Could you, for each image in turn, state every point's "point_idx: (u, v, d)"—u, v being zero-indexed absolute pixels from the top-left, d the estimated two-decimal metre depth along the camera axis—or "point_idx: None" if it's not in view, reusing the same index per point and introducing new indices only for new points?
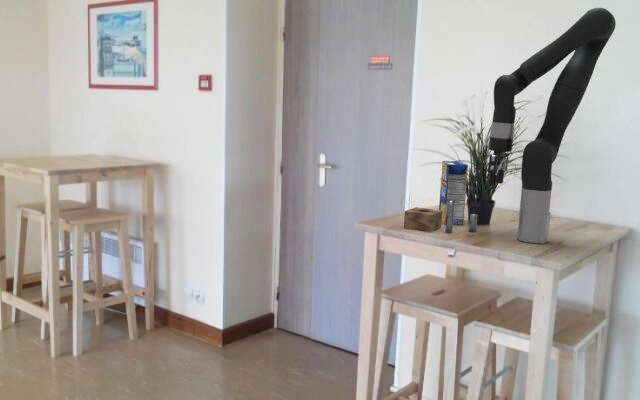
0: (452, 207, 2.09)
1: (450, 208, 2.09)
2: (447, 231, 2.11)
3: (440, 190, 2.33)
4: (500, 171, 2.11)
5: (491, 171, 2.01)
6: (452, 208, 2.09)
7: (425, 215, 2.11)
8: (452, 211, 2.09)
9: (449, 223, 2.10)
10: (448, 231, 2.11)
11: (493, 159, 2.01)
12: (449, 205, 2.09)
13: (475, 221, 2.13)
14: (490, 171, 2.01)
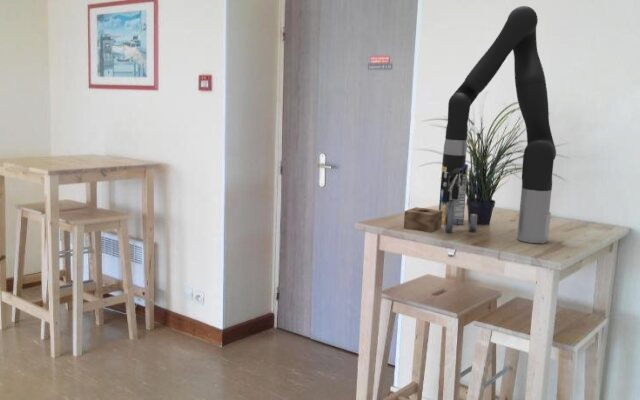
0: (452, 207, 2.09)
1: (450, 208, 2.09)
2: (447, 231, 2.11)
3: (440, 190, 2.33)
4: (455, 187, 2.13)
5: (444, 188, 2.03)
6: (452, 208, 2.09)
7: (425, 215, 2.11)
8: (452, 211, 2.09)
9: (449, 223, 2.10)
10: (448, 231, 2.11)
11: (445, 176, 2.03)
12: (449, 205, 2.09)
13: (475, 221, 2.13)
14: (443, 188, 2.04)
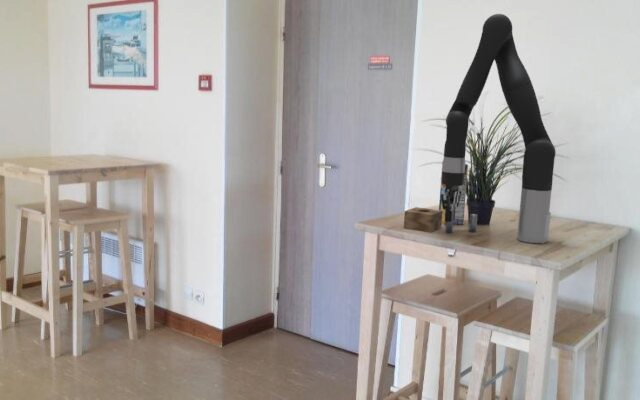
0: None
1: None
2: (447, 231, 2.11)
3: (440, 190, 2.33)
4: None
5: (446, 208, 2.07)
6: None
7: (425, 215, 2.11)
8: (452, 211, 2.09)
9: (449, 223, 2.10)
10: (448, 231, 2.11)
11: (445, 199, 2.05)
12: None
13: (475, 221, 2.13)
14: (445, 208, 2.07)
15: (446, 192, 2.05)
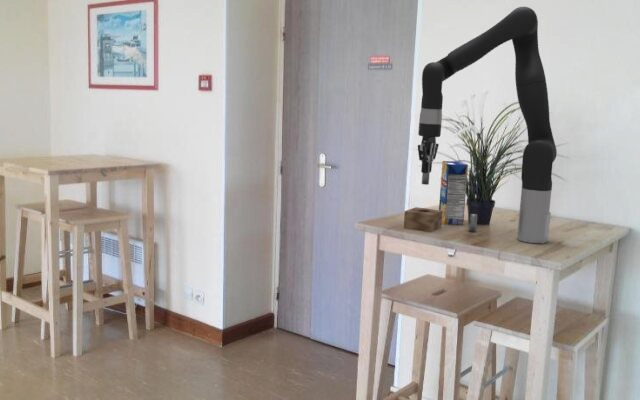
0: None
1: None
2: (423, 182, 2.14)
3: (440, 190, 2.33)
4: None
5: (422, 158, 2.10)
6: None
7: (425, 215, 2.11)
8: (428, 162, 2.13)
9: (425, 174, 2.13)
10: (424, 182, 2.14)
11: (421, 149, 2.08)
12: None
13: (475, 221, 2.13)
14: (421, 158, 2.10)
15: (423, 143, 2.09)
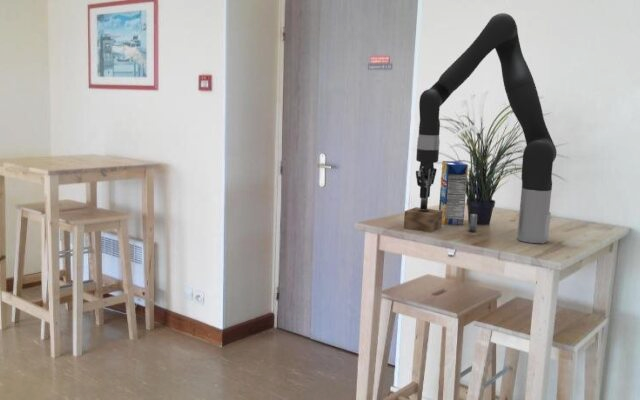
0: (427, 184, 2.14)
1: None
2: (422, 207, 2.16)
3: (440, 190, 2.33)
4: None
5: (420, 184, 2.12)
6: (427, 185, 2.14)
7: (425, 215, 2.11)
8: None
9: (424, 200, 2.15)
10: (423, 207, 2.16)
11: (419, 175, 2.09)
12: None
13: (475, 221, 2.13)
14: (420, 184, 2.12)
15: (420, 169, 2.10)
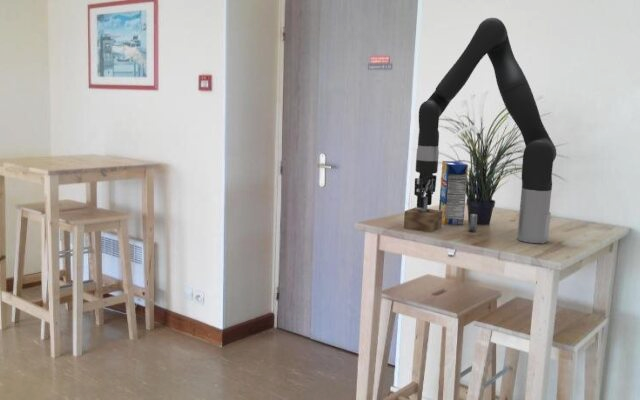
0: (425, 203, 2.15)
1: (424, 204, 2.15)
2: None
3: (440, 190, 2.33)
4: (428, 193, 2.19)
5: (417, 193, 2.10)
6: (425, 204, 2.15)
7: (425, 215, 2.11)
8: (425, 206, 2.15)
9: None
10: None
11: (418, 182, 2.09)
12: None
13: (475, 221, 2.13)
14: (416, 193, 2.10)
15: (420, 178, 2.11)
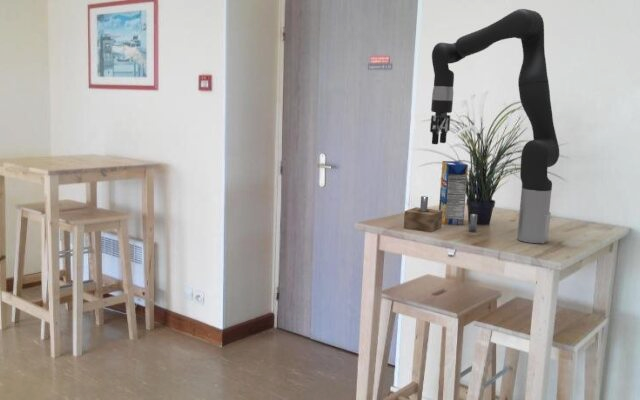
0: (425, 203, 2.15)
1: (424, 204, 2.15)
2: None
3: (440, 190, 2.33)
4: (443, 132, 2.32)
5: (433, 130, 2.22)
6: (425, 204, 2.15)
7: (425, 215, 2.11)
8: (425, 206, 2.15)
9: None
10: None
11: (434, 119, 2.22)
12: (422, 201, 2.15)
13: (475, 221, 2.13)
14: (432, 130, 2.22)
15: (436, 116, 2.23)
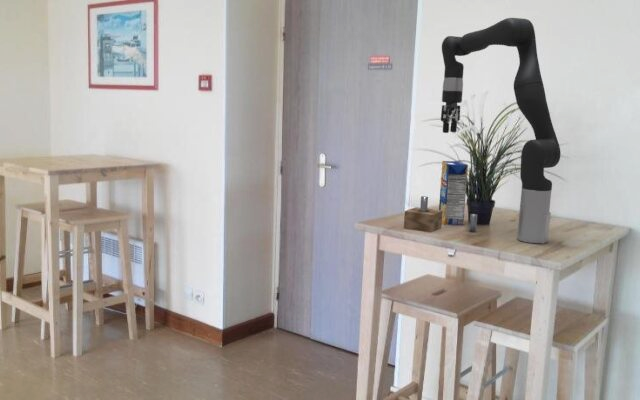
0: (425, 203, 2.15)
1: (424, 204, 2.15)
2: None
3: (440, 190, 2.33)
4: (453, 121, 2.43)
5: (444, 119, 2.34)
6: (425, 204, 2.15)
7: (425, 215, 2.11)
8: (425, 206, 2.15)
9: None
10: None
11: (445, 109, 2.33)
12: (422, 201, 2.15)
13: (475, 221, 2.13)
14: (443, 119, 2.34)
15: None
